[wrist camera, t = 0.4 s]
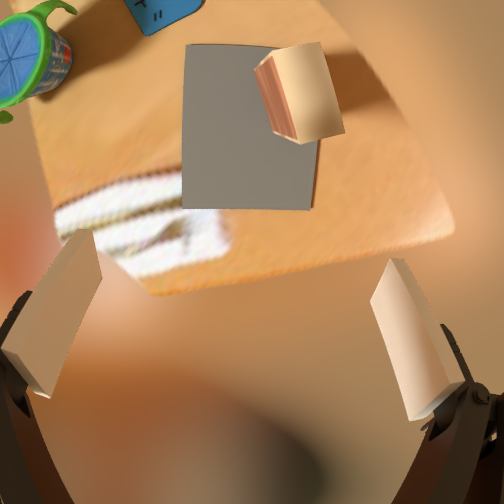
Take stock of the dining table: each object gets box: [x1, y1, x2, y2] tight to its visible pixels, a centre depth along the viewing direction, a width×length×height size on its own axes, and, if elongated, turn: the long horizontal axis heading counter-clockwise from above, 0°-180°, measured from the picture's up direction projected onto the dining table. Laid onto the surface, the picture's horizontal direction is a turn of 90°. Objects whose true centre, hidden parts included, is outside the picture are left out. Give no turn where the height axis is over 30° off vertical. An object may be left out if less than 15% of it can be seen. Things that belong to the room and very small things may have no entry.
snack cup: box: [0, 0, 77, 124], centre depth 22 cm, size 16×10×10 cm
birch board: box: [253, 42, 345, 145], centre depth 27 cm, size 4×8×12 cm, turn 17°
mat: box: [182, 45, 318, 211], centre depth 34 cm, size 20×16×1 cm
